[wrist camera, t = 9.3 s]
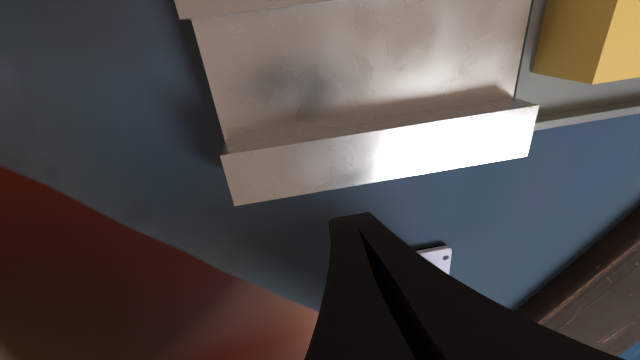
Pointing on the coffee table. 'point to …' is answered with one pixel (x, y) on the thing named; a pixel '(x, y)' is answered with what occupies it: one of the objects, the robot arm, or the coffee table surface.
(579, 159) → the coffee table surface
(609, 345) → the hardcover book
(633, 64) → the mustard cube
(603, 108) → the tray
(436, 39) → the channel
